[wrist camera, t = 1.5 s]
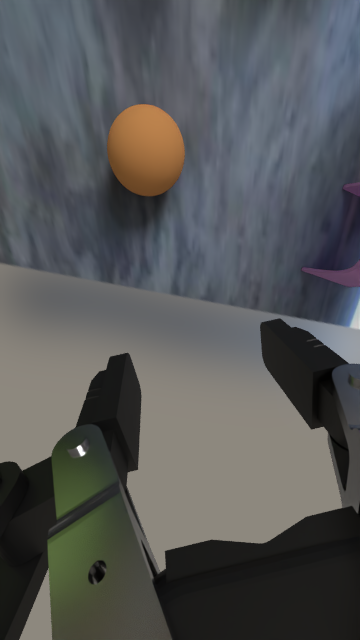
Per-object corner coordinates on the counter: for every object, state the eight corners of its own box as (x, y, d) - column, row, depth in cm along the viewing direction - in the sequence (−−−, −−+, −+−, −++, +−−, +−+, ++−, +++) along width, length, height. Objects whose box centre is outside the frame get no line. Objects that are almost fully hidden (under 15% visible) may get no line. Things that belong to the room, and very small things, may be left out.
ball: (172, 112, 20) (180, 79, 15) (185, 190, 22) (196, 184, 17) (103, 127, 20) (87, 99, 15) (124, 203, 22) (116, 202, 17)
